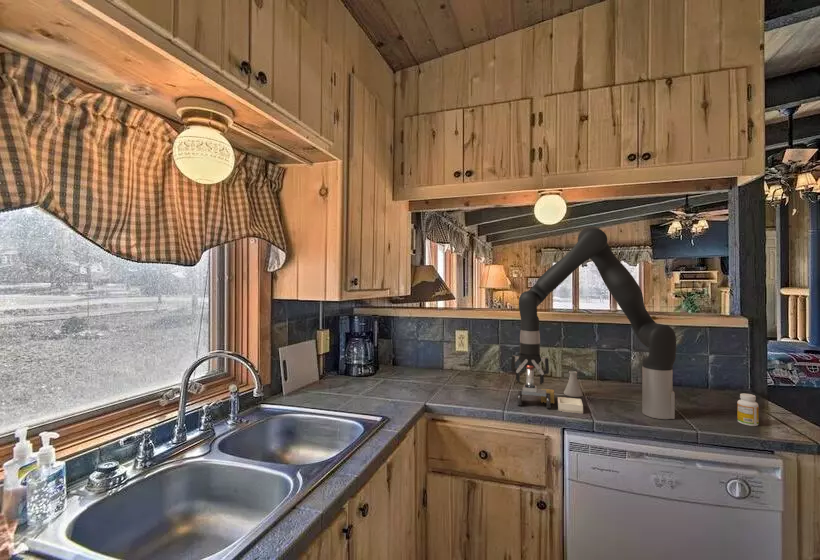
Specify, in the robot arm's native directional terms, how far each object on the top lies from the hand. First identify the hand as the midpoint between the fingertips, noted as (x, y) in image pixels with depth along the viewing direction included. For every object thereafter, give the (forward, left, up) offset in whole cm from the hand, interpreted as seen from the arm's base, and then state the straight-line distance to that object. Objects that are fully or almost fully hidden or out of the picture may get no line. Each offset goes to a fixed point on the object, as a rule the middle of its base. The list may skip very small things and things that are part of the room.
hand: (529, 382), depth 149 cm
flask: (-17, -19, -9) cm, 27 cm away
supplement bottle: (-71, -4, -9) cm, 72 cm away
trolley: (-2, 0, -9) cm, 9 cm away
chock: (-7, -7, -9) cm, 13 cm away
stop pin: (0, 0, -3) cm, 3 cm away
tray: (-15, 0, -9) cm, 17 cm away
